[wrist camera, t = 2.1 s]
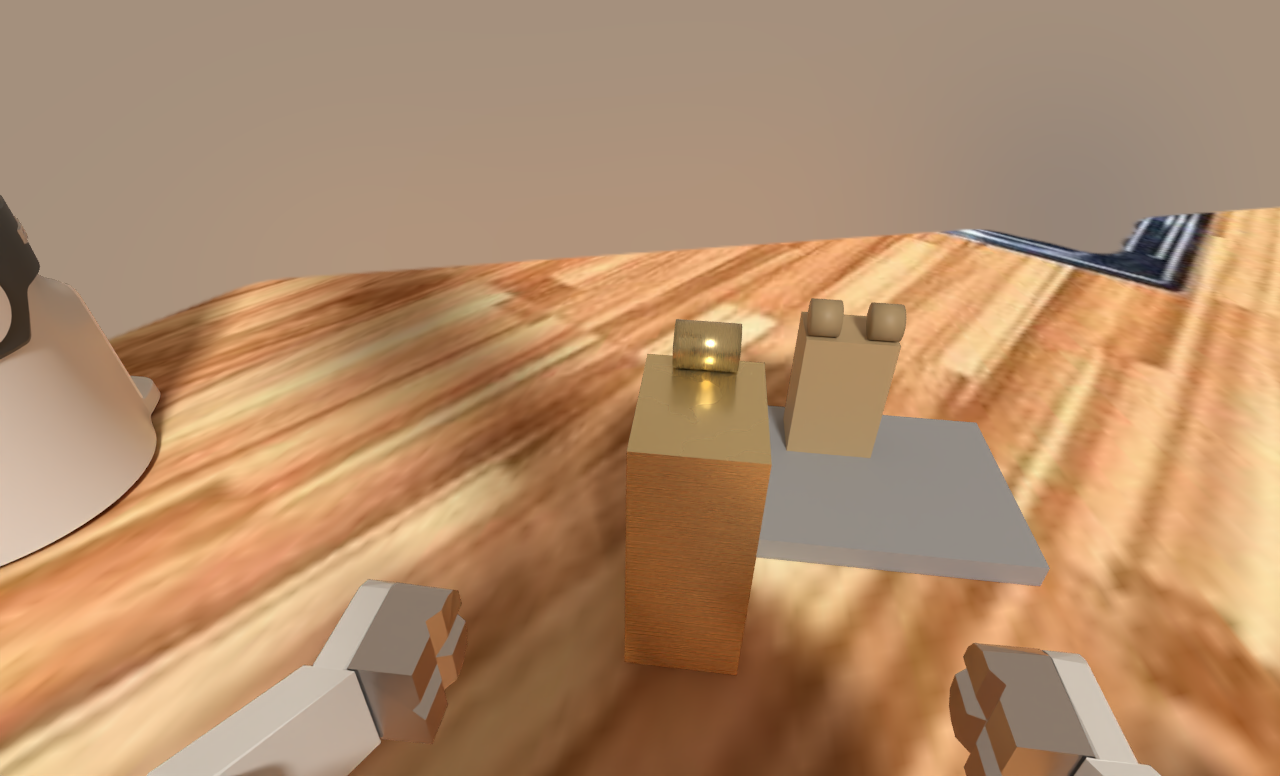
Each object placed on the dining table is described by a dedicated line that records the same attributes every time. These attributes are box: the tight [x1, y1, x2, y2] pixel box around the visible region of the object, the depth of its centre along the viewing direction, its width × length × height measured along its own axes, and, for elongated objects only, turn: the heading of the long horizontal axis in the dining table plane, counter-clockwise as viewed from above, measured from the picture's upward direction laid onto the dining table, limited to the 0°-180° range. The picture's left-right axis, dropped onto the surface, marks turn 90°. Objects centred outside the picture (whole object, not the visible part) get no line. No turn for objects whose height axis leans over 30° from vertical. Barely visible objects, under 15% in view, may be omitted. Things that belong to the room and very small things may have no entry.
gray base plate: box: [756, 298, 1050, 586], centre depth 33 cm, size 18×11×10 cm, turn 83°
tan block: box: [625, 319, 772, 675], centre depth 26 cm, size 4×6×13 cm
